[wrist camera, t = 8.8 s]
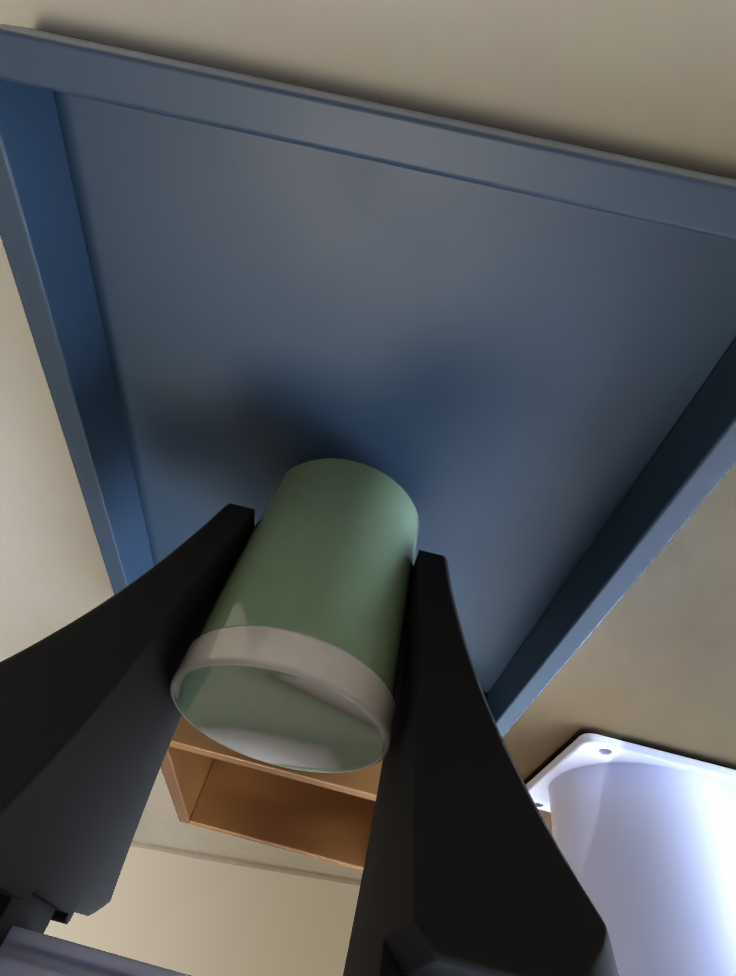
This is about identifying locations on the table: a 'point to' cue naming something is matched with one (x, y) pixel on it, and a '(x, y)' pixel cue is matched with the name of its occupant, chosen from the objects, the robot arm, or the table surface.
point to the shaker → (309, 625)
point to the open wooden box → (271, 799)
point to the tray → (370, 326)
